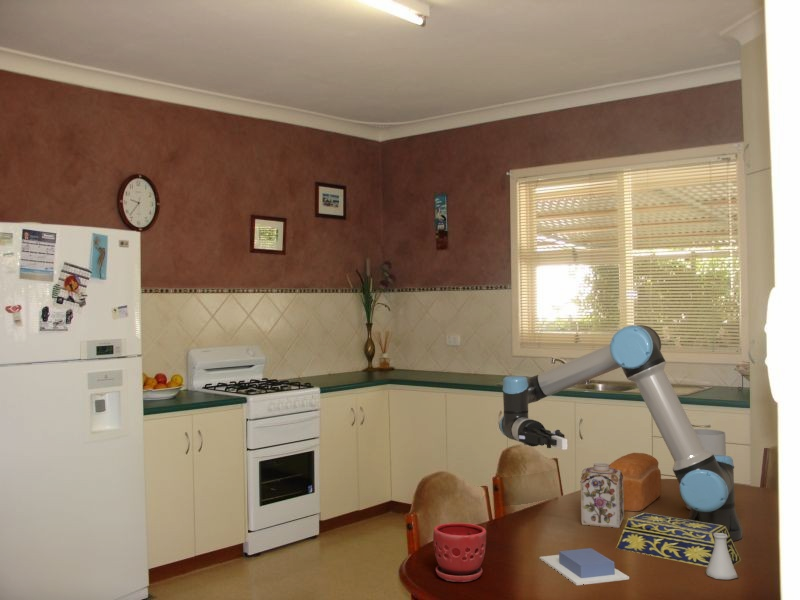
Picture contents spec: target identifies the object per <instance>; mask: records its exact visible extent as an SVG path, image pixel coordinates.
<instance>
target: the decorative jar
mask: <svg viewBox="0 0 800 600" xmlns="http://www.w3.org/2000/svg"><path fill="white" fill-rule="evenodd" d="M609 465H610V464H609V463H606V462H594V463H593V466H592V467H591V466H590V467H586V468H584V469H583V470H582V472H581V477H580V521H581V525H582V526H588V525H590V527H599V526H600V527H602V528H611V527H613V529H614V528H615V529H620V527H621V525H622V523H623V521H624V518H625V510H624V496H623V475H622V472H621V471H620V470H617V469H613V468H609Z"/></svg>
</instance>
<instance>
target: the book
mask: <svg viewBox="0 0 800 600" xmlns="http://www.w3.org/2000/svg"><path fill="white" fill-rule="evenodd" d="M558 555H559V563H560V564H561V565H563V566H564V567H566V568H567V569H569V570H570V571H571V572H573V573H574V574H576V575H577V576H579V577H580V578H588V577H596V576H605V575H614V574H615V569H616V568H615V567H616V566H615V561H613V560H611V559H610V558H608V557H607V556H605V555H603V554H601V553H600V552H599V551H597V550H595V549H593V548H591V547H590V548H589V547H588V548H579V549H570V550H569V549H568V550H561V551H558Z"/></svg>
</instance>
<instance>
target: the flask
mask: <svg viewBox="0 0 800 600" xmlns="http://www.w3.org/2000/svg"><path fill="white" fill-rule="evenodd" d="M713 536H714V537H715V543H714V549H713V552H712V555H711V558H710V561H709V564H708V566H707V567H706V569H705V573H706V576H708V577H711V578H712V579H716V580H728V581H729V580H733V579H737V578H739V577H738V574H737V572H736V569H735V565H734V566H733V564H732V561H731V558H730V556H729V553H728V549H727V544H726V538H727V537H728V536H727V534H724V533H714V534H713Z"/></svg>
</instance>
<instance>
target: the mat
mask: <svg viewBox="0 0 800 600" xmlns="http://www.w3.org/2000/svg"><path fill="white" fill-rule="evenodd" d="M540 559H541V560H540ZM539 560H540V561H541V562H543V561H544V562H545V563H544V562H543V563H544V564H546V565H547V564H548V565H547V566H549V567H550V568H551V567H552V568H551V569H553V570H554V569H555V570H554V571H556V572H557V571H558V572H559V573H558V572H557V573H558V574H560V575H561V574H562V575H561V576H563V578H565V577H566V578H565V579H567V580H568V579H569V580H568V581H569V582H571V583H572V582H573V585H575V586H584V585H591V584H592V585H593V584H602V583H609V582H619V581H626V580H630V576H628V575H627V574H625V573H624V572H622V571H620V570H619V569H617V568H615V574H614V575H605V576H596V577H588V578H580V577H579V576H577V575H576V574H574V573H573V572H571V571H570V570H569V569H567V568H566V567H564V566H563V565H561V564H560V563H559V554H554V555H553V554H552V555H544V556H539ZM583 584H584V585H583Z"/></svg>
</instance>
